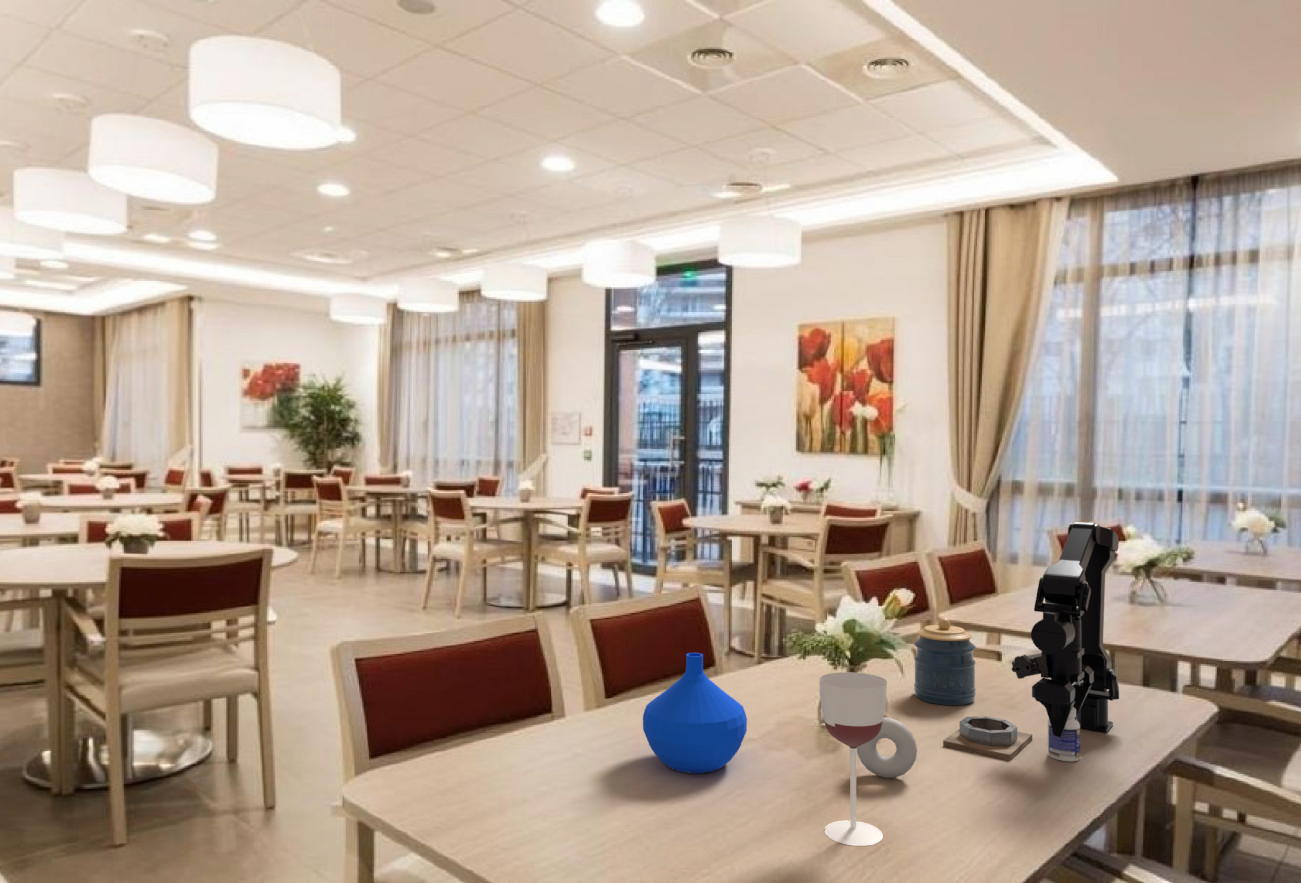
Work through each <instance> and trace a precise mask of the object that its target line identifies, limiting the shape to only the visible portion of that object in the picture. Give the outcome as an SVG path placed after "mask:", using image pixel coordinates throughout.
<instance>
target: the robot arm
mask: <svg viewBox="0 0 1301 883" xmlns="http://www.w3.org/2000/svg"><path fill="white" fill-rule="evenodd" d="M1118 551H1119V535H1118V534H1117V532H1116V531H1115V530H1113V529H1112V528H1111V527H1104V526H1101V525H1100V524H1096V522H1084V521H1083V522H1081V521H1074V522H1073V523H1072V522H1070V523H1069V526H1068V527H1067V538H1066V541H1065V544H1064V546H1063V549H1062V552H1061V553H1060V556H1059V559H1058V560H1057V563H1054V564H1051V565H1050V566H1048V567H1046V570H1045V571H1044V573H1043V574H1042V576H1041V577H1040V578H1039V580H1038V587H1037V590H1036V597H1035V602H1034V607H1033V611H1034V612H1036V613H1037V612H1040V613H1042V618H1041V619H1040V620H1038V621H1037V622H1036V623H1035V624H1034V625H1033V626H1032V629H1031V631H1030V638H1031V641H1032V643H1033V645H1034V646H1035V647H1036V648H1037V649H1038V650H1040V651H1041V652H1040V653H1036V654H1035V653H1034V654H1031V655H1030V654H1029V655H1026V654H1022V655H1017V656H1015V657H1014V660H1012V661H1011V666H1012V667H1011V671H1012V672H1013V673H1015V675H1016V678H1017V679H1018V680H1022V679H1025V678H1027V677H1030V676H1037V675H1040V678H1041V679H1039V680H1038V681H1036V683H1034V684H1033V685H1032V686H1031V697H1032V698H1034V700H1035V701H1036V702H1039V703H1040V704H1041V705H1042V706H1043V707H1044V708H1045V710H1046V713H1047V716H1048V720H1050V724H1051V727H1052V731H1053V734H1054V736H1056V737H1061V735H1062V733H1063V731H1064V728H1065V726H1066V723H1067V720H1068V718H1069V715H1070V713H1071V710H1072V708H1073V707H1074V708H1076V717H1075V720H1077V721H1078V722H1079V724H1080V729H1087V730H1091V731H1092V730H1093V731H1096V732H1103V733H1107V732H1109V730H1110V729H1111V728H1112V726H1114V722H1113V721H1110V720H1109V701H1111V702H1113V701H1114V700H1119V699H1120V687H1119V686H1120V685H1119V681H1118V677H1117V676H1116V673H1115V669H1113V668H1112V659H1111V658H1110V655H1109V653H1108V652H1107V650H1106V649H1105V647H1104V624H1105V622H1104V620H1105V594H1106V593H1105V591H1106V572H1107V571H1108V569H1109V568H1110V567H1111V566H1112V564H1113V563H1114V561H1115V557H1116V552H1118Z"/></svg>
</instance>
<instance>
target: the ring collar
mask: <svg viewBox="0 0 1301 883" xmlns="http://www.w3.org/2000/svg"><path fill="white" fill-rule="evenodd" d="M959 729H960V736H962V737H963V738H964V739H966V740H967V741H969V742H972V743H977V744H982V745H986V746H1011V745H1012V744H1013V743H1015V742H1016V741H1017V731H1018V726H1017V725H1015V724H1014V723H1012V722H1011V721H1009V720H1007V719H1002V718H997V717H993V716H987V715H981V716H980V715H979V716H966V717H964V718H962V719H961V720H960V721H959Z"/></svg>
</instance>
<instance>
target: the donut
mask: <svg viewBox="0 0 1301 883" xmlns="http://www.w3.org/2000/svg"><path fill="white" fill-rule="evenodd" d="M882 739H888V740H891V741H892V742H893V743H894V745H895V748H896V749H895V753H894V754H893V755H891V756H885V755H884V756H883V755H882V754H880V752H879V751H878V749H877V744H878V743H879V741H880V740H882ZM917 754H918V748H917V742H916V739H915V737H914V735H913V732H912V731H911V730H910V729H909V728H908V727H907V726H906V725H905V724H904V723H902V722H900V721H899V720H897V719H895V718H890V717H886V716H884V717H883V723H882V727H881V730H880V732H879V734H878V735H877V736H876V737H875V738H874V739H872V740H871V741H869V742H867V743H865V744H862V745H860V746H858V747H857V748H856V755H857V756H858V758H859V760H860V762H861V764H862V765H863V766H864V768H866V769H867V770H868V771H869V772H871V773H872V774H874V775H875V776H878V777H881V778H885V779H891V778H892V779H894V778H895V779H896V778H898V777H901V776H904V775H905V774H906V773H908V771H910V770H911V769H912V767H913V765H914V764H915V762H916V759H917Z"/></svg>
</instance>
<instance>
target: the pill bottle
mask: <svg viewBox="0 0 1301 883" xmlns="http://www.w3.org/2000/svg"><path fill="white" fill-rule="evenodd" d="M1075 717H1076V708H1074V707H1073V708H1072V710H1071V713H1070V715H1069V718H1068V720H1067V723H1066V726H1065V728H1064V731H1063V733H1062V735H1061V737H1056V736H1054V734H1053V731H1052V727H1051V724H1050V720H1049V719H1048V720H1047V739H1048V740H1047V754H1048V756H1049V757H1050V758H1052V759H1053V760H1057V761H1061V762H1071V763H1072V762H1077V761H1079V760H1081V728H1080V724H1079V722H1078V721H1077V720H1075Z"/></svg>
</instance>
